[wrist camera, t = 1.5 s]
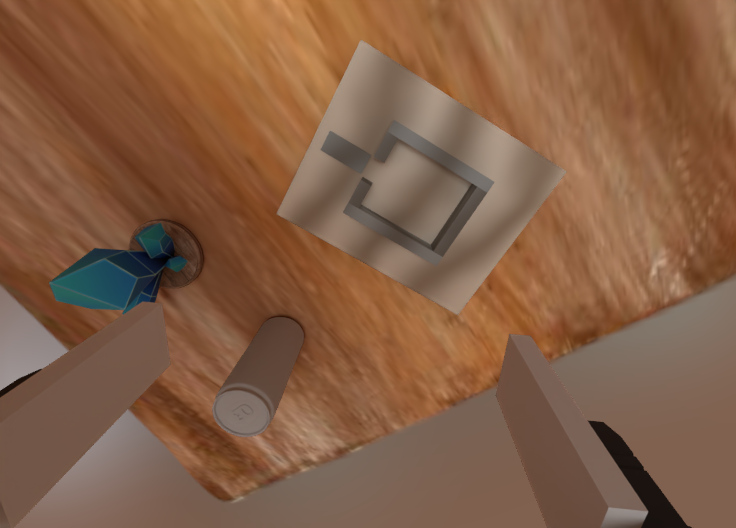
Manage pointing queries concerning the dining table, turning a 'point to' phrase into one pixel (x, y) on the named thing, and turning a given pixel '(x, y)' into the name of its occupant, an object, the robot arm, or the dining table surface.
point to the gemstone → (132, 269)
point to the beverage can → (259, 379)
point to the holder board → (415, 182)
